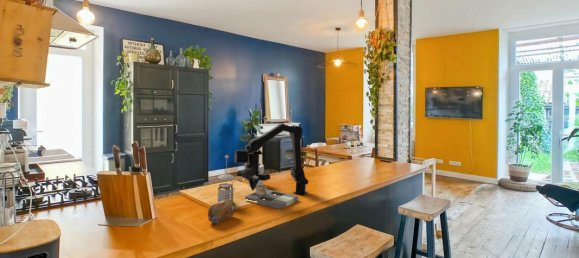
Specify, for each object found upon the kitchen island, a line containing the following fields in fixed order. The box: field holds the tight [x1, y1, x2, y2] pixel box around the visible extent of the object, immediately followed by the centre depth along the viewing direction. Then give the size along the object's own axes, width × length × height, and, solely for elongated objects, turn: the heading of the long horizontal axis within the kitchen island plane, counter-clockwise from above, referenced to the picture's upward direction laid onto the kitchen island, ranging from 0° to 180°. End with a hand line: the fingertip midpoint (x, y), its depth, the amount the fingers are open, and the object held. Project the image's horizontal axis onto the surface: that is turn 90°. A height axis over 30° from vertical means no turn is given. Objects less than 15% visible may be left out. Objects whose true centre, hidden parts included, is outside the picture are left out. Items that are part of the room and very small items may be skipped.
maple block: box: [255, 185, 267, 195], centre depth 178 cm, size 4×4×4 cm
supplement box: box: [248, 164, 265, 188], centre depth 204 cm, size 7×7×13 cm
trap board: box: [244, 188, 299, 210], centre depth 175 cm, size 18×22×2 cm
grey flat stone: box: [207, 200, 236, 225], centre depth 144 cm, size 15×3×8 cm, turn 148°
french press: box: [217, 154, 236, 202], centre depth 166 cm, size 10×12×25 cm
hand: (252, 190), depth 181 cm, fingers closed
